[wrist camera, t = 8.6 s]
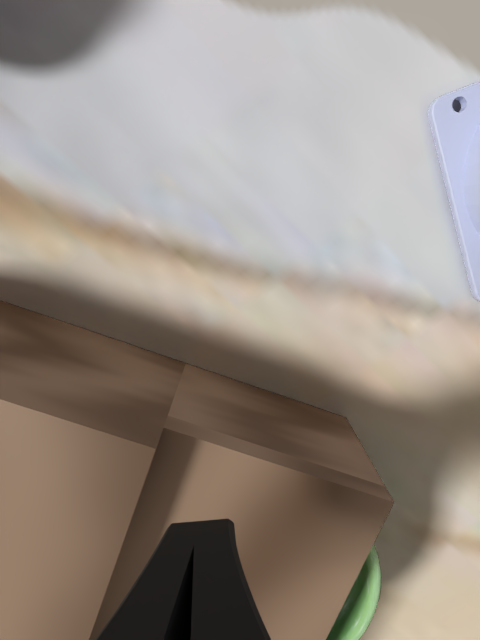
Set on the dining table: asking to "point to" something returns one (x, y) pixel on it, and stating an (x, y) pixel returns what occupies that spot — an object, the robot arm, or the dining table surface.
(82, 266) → the dining table surface
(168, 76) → the dining table surface
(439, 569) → the dining table surface
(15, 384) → the walnut shelf
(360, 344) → the dining table surface
